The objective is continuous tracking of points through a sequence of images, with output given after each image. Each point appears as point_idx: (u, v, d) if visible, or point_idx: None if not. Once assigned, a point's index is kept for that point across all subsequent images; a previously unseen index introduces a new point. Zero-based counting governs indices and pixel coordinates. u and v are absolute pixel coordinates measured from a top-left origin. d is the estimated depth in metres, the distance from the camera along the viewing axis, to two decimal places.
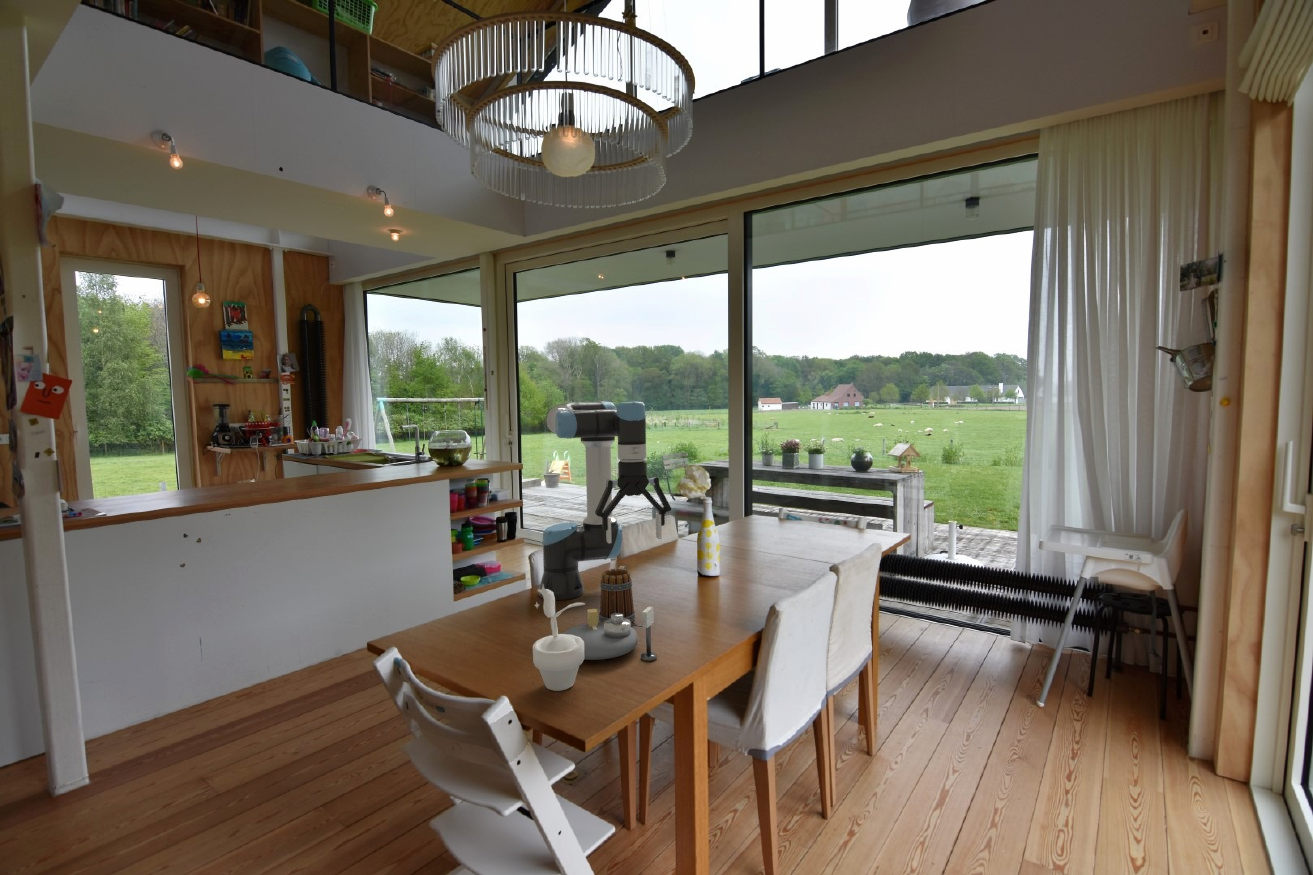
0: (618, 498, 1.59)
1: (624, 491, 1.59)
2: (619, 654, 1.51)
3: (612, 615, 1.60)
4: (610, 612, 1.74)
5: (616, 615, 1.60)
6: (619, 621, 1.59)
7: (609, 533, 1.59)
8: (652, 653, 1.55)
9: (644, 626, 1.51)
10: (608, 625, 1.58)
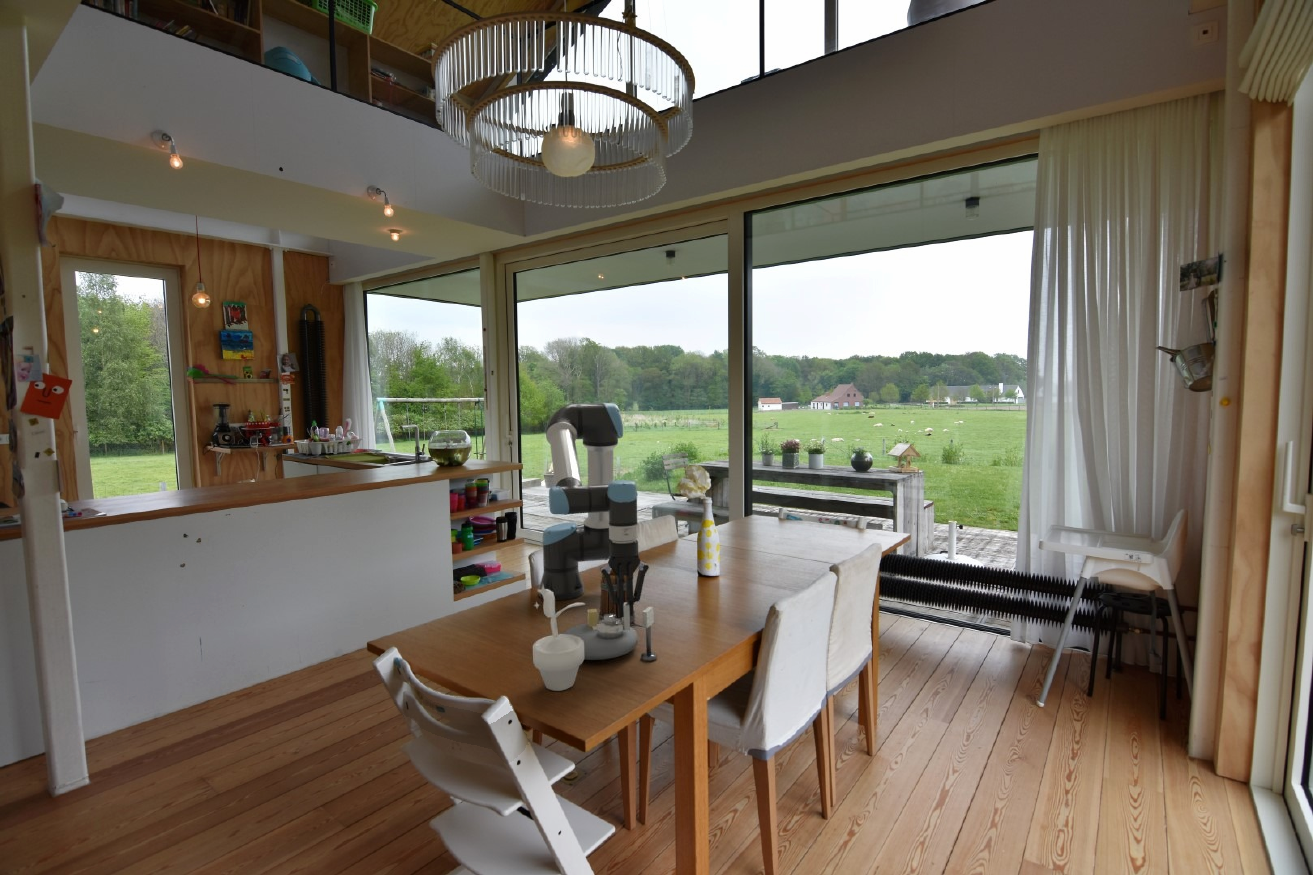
0: (620, 582, 1.59)
1: (620, 574, 1.58)
2: (619, 654, 1.51)
3: (605, 616, 1.59)
4: (610, 612, 1.74)
5: (609, 616, 1.59)
6: (612, 622, 1.58)
7: (625, 620, 1.59)
8: (652, 653, 1.55)
9: (644, 626, 1.51)
10: (601, 625, 1.58)
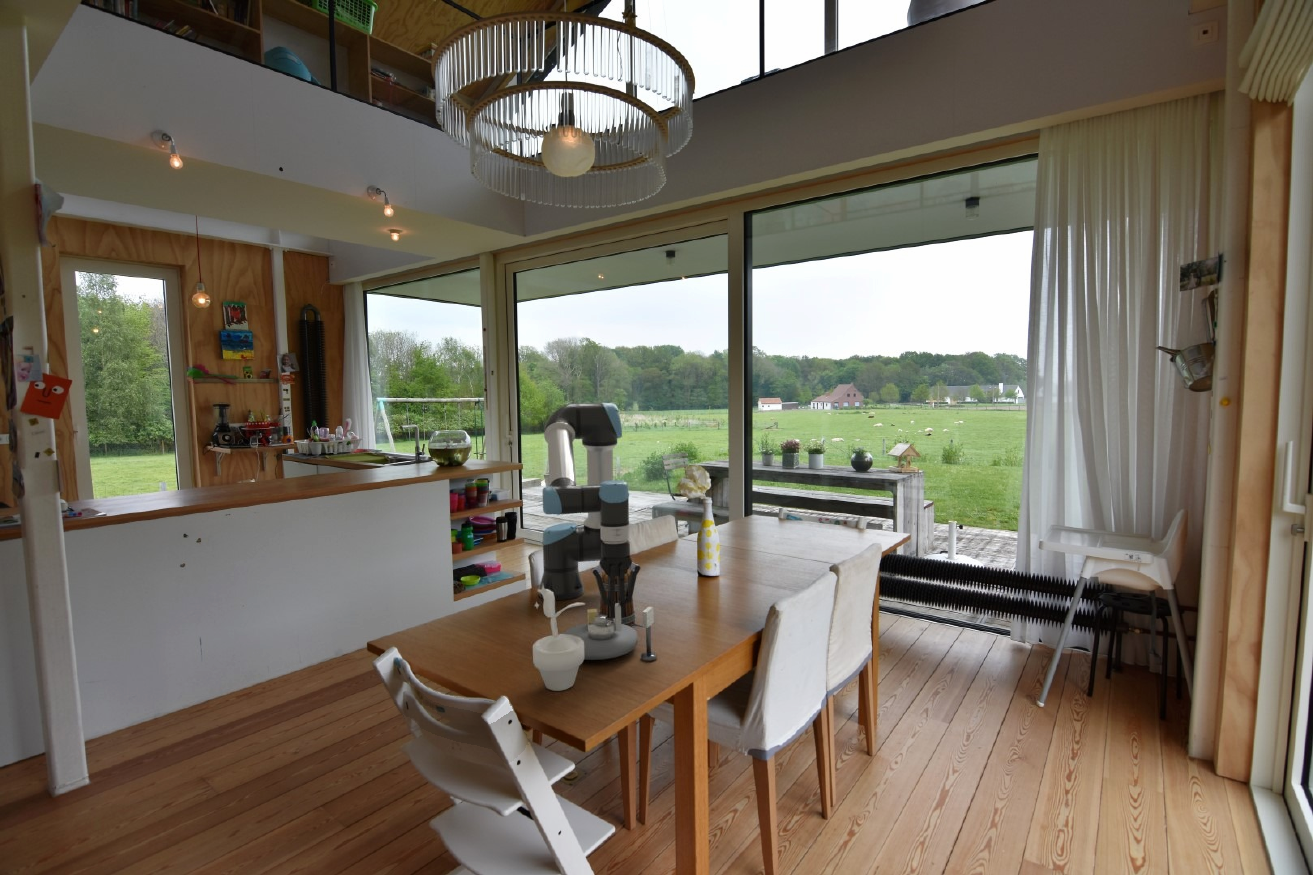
0: (611, 583, 1.58)
1: (612, 574, 1.57)
2: (619, 654, 1.51)
3: (596, 617, 1.59)
4: None
5: (600, 617, 1.59)
6: (603, 623, 1.58)
7: (616, 621, 1.59)
8: (652, 653, 1.55)
9: (644, 626, 1.51)
10: (592, 627, 1.57)
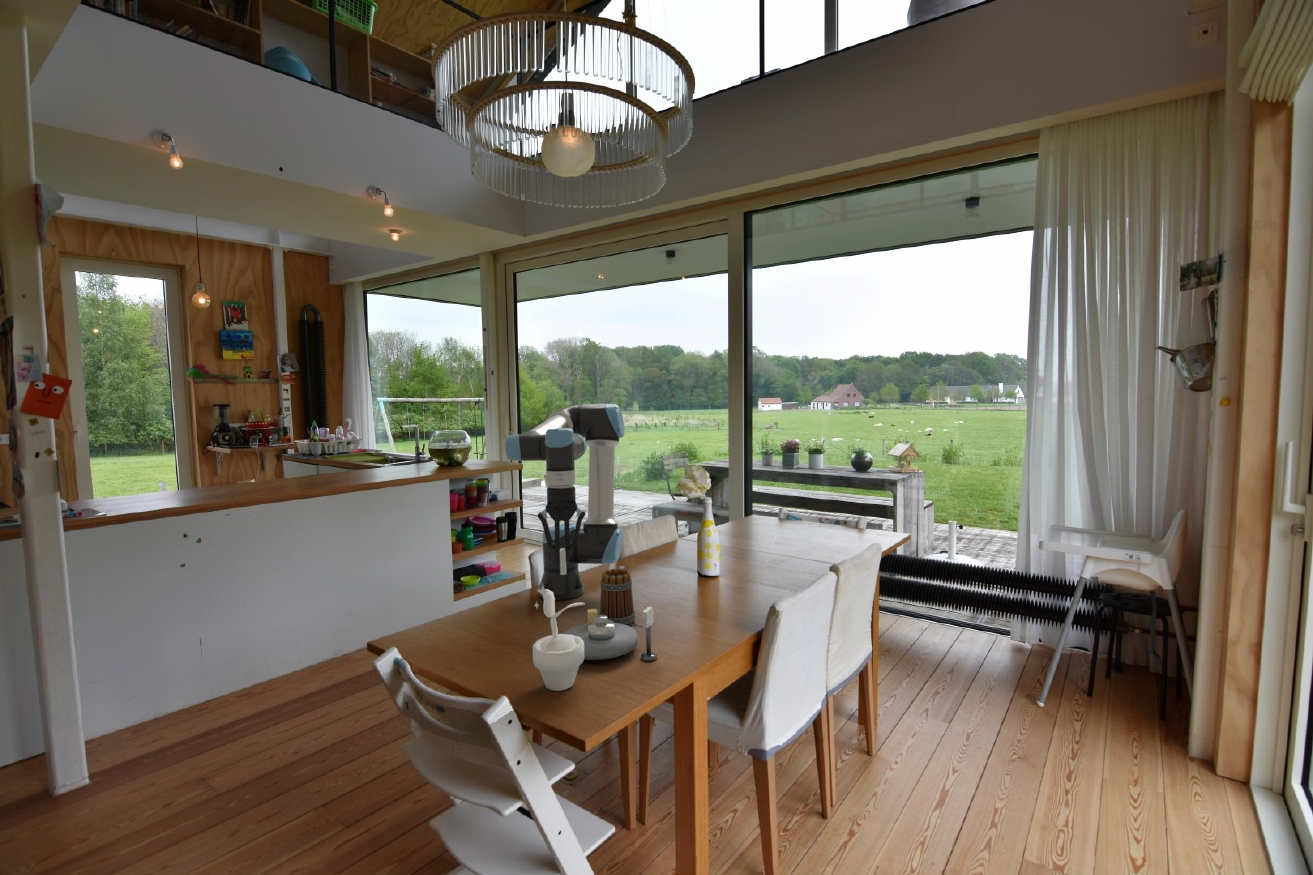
0: (556, 527, 1.62)
1: (556, 518, 1.62)
2: (619, 654, 1.51)
3: (596, 617, 1.59)
4: (610, 612, 1.74)
5: (600, 617, 1.59)
6: (603, 623, 1.58)
7: (561, 565, 1.63)
8: (652, 653, 1.55)
9: (644, 626, 1.51)
10: (592, 627, 1.57)
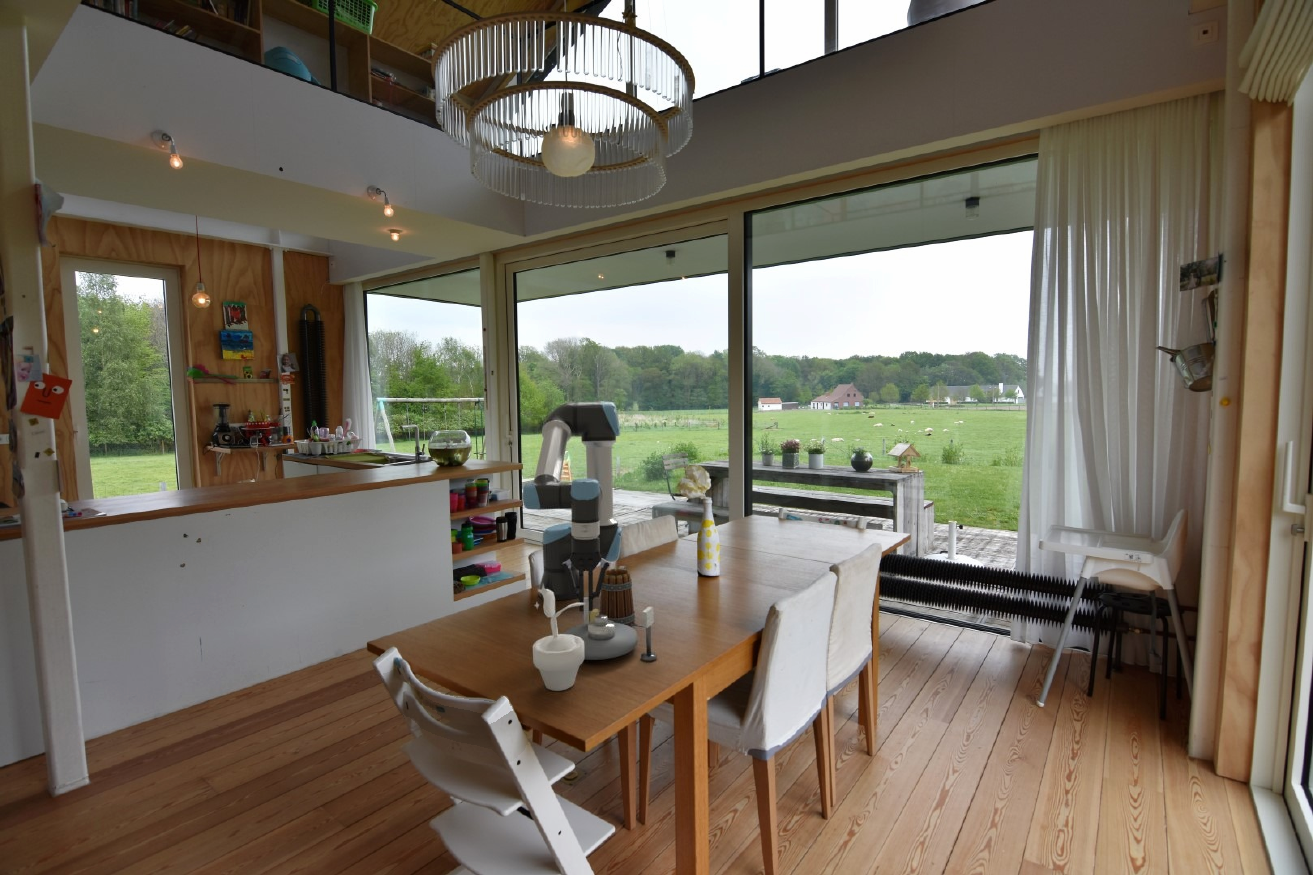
0: (580, 577, 1.64)
1: (580, 569, 1.63)
2: (618, 654, 1.51)
3: (596, 617, 1.59)
4: (610, 612, 1.74)
5: (600, 617, 1.59)
6: (603, 623, 1.58)
7: (584, 614, 1.64)
8: (652, 653, 1.55)
9: (644, 626, 1.51)
10: (592, 627, 1.57)
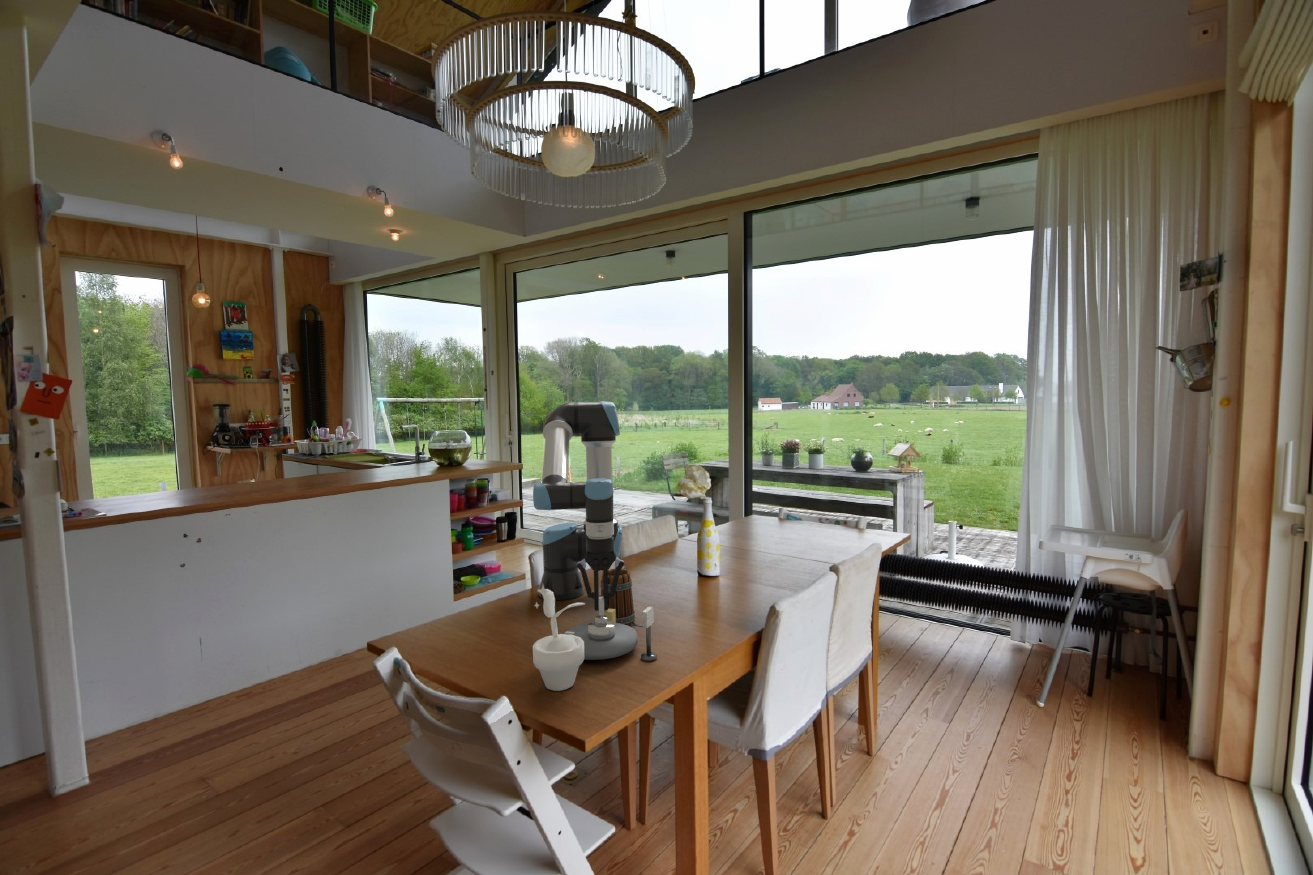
0: (595, 577, 1.64)
1: (595, 568, 1.64)
2: (597, 658, 1.49)
3: (596, 616, 1.59)
4: None
5: (599, 617, 1.58)
6: (600, 624, 1.57)
7: (600, 614, 1.65)
8: (652, 653, 1.55)
9: (644, 626, 1.51)
10: (590, 625, 1.58)
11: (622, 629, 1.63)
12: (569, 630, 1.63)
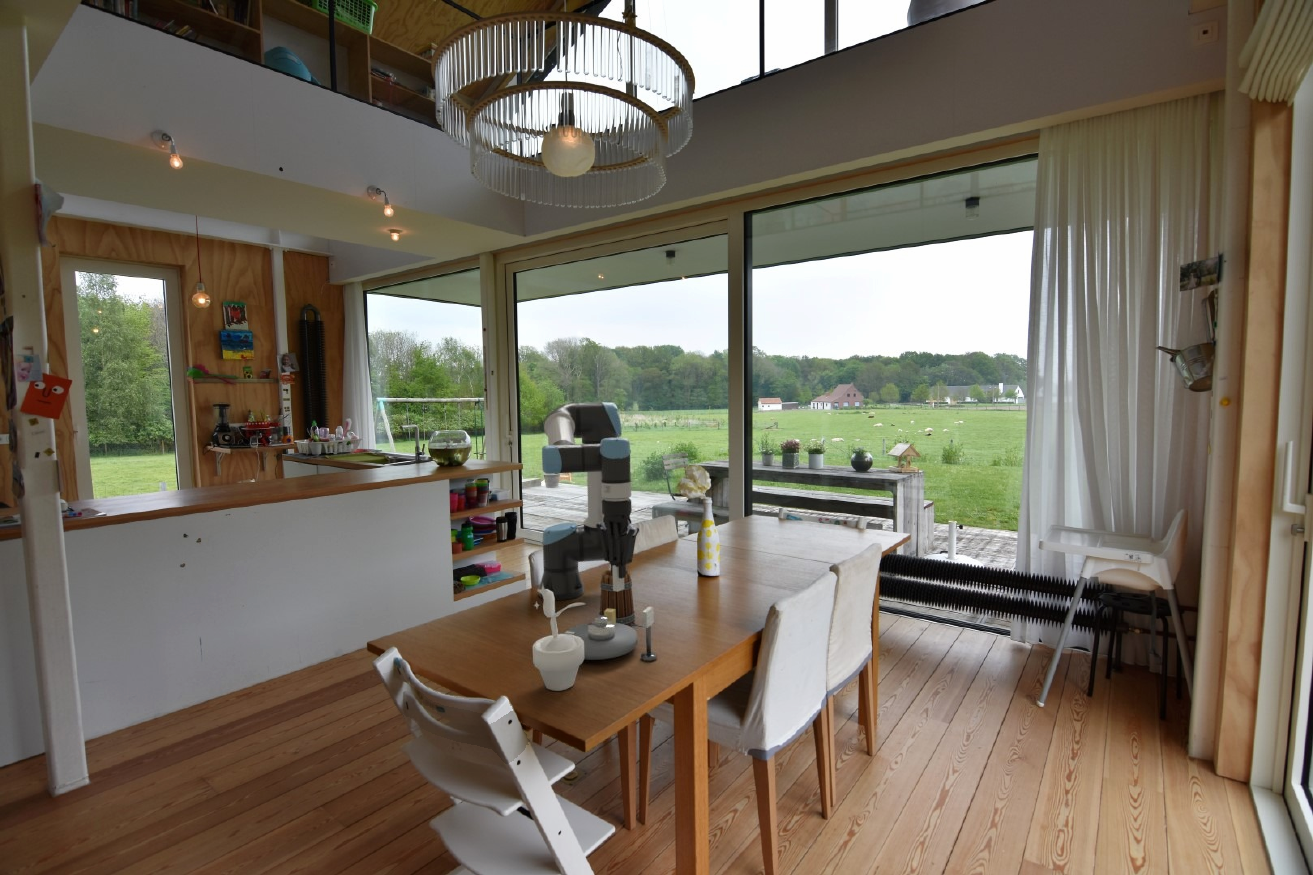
0: (610, 540, 1.56)
1: (608, 531, 1.55)
2: (597, 658, 1.49)
3: (596, 616, 1.59)
4: None
5: (599, 617, 1.58)
6: (600, 624, 1.57)
7: (613, 580, 1.56)
8: (652, 653, 1.55)
9: (644, 626, 1.51)
10: (590, 625, 1.58)
11: (622, 629, 1.63)
12: (569, 630, 1.63)
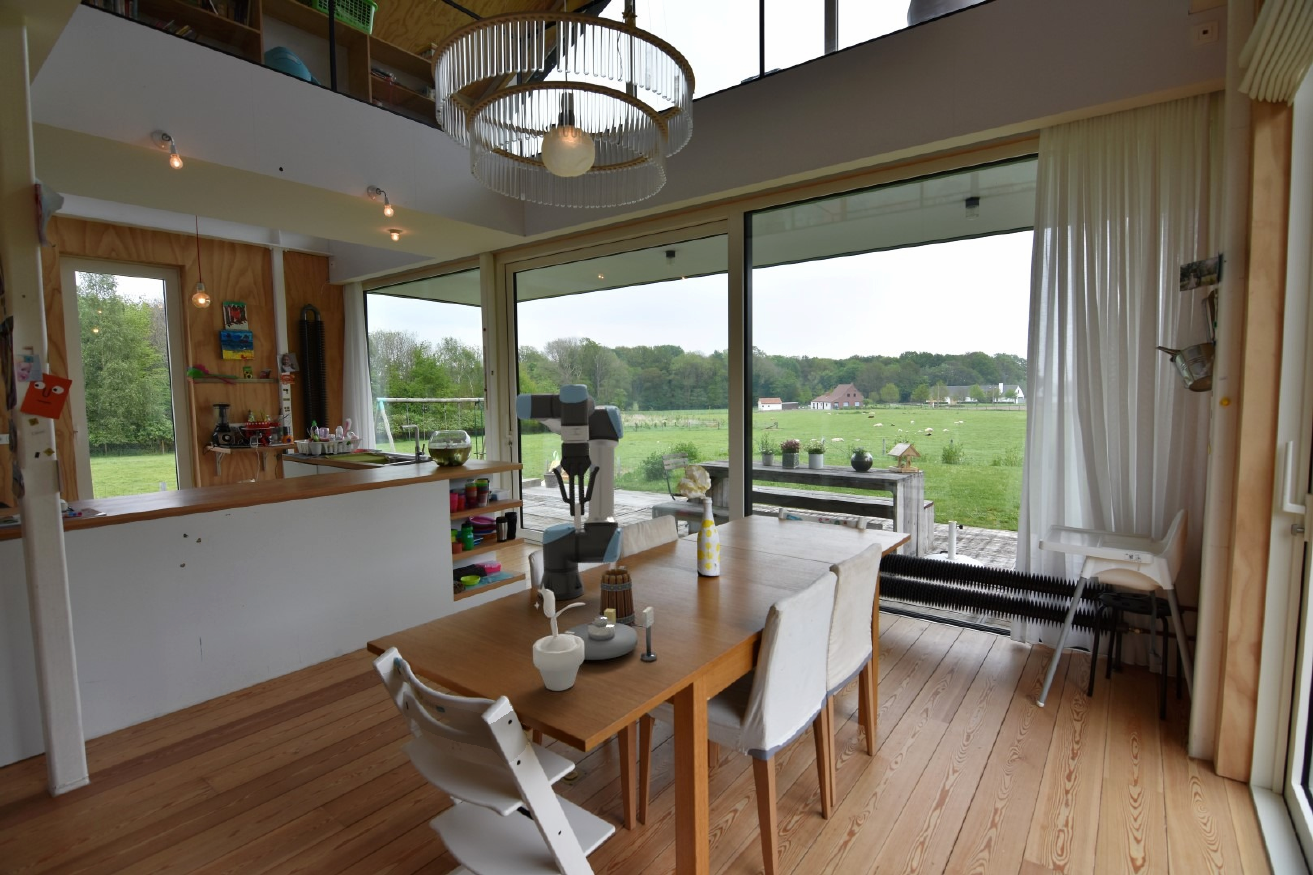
0: (571, 482, 1.65)
1: (571, 473, 1.64)
2: (597, 658, 1.49)
3: (596, 617, 1.59)
4: None
5: (599, 617, 1.58)
6: (600, 624, 1.57)
7: (576, 519, 1.66)
8: (652, 653, 1.55)
9: (644, 626, 1.51)
10: (590, 625, 1.58)
11: (622, 629, 1.63)
12: (569, 630, 1.63)
